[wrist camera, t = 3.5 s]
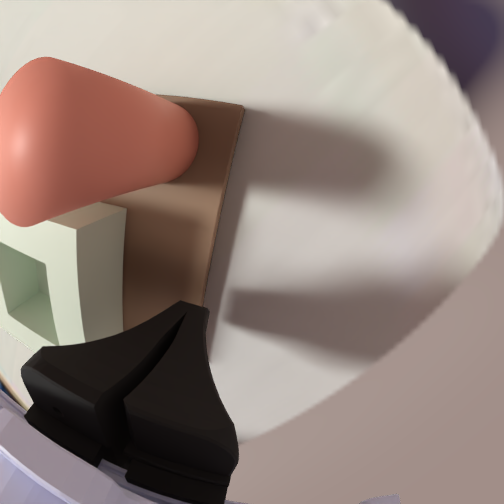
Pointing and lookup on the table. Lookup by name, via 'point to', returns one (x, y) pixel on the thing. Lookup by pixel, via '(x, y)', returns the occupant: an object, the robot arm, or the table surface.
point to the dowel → (83, 140)
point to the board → (178, 219)
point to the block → (63, 277)
